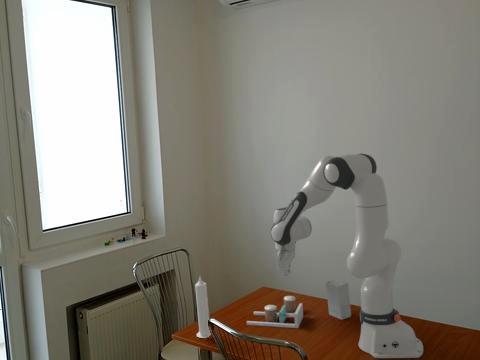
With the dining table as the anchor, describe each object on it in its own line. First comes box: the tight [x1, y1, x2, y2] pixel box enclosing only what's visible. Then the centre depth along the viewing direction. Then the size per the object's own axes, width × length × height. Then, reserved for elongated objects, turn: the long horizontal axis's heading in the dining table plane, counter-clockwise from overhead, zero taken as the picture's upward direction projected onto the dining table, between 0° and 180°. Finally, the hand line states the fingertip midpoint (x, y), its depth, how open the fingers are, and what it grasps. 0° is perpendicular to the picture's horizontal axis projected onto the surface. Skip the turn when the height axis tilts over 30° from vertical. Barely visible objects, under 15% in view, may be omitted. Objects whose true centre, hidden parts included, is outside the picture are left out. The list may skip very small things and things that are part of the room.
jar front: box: [264, 304, 278, 323], centre depth 204 cm, size 5×5×6 cm
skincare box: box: [325, 278, 352, 321], centre depth 203 cm, size 8×6×15 cm
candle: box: [194, 276, 211, 339], centre depth 193 cm, size 7×7×25 cm
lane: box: [246, 302, 304, 329], centre depth 204 cm, size 22×11×6 cm, turn 72°
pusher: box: [278, 304, 289, 323], centre depth 202 cm, size 3×8×5 cm, turn 162°
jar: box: [283, 295, 297, 314], centre depth 213 cm, size 5×5×6 cm
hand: (287, 274), depth 211 cm, fingers closed
